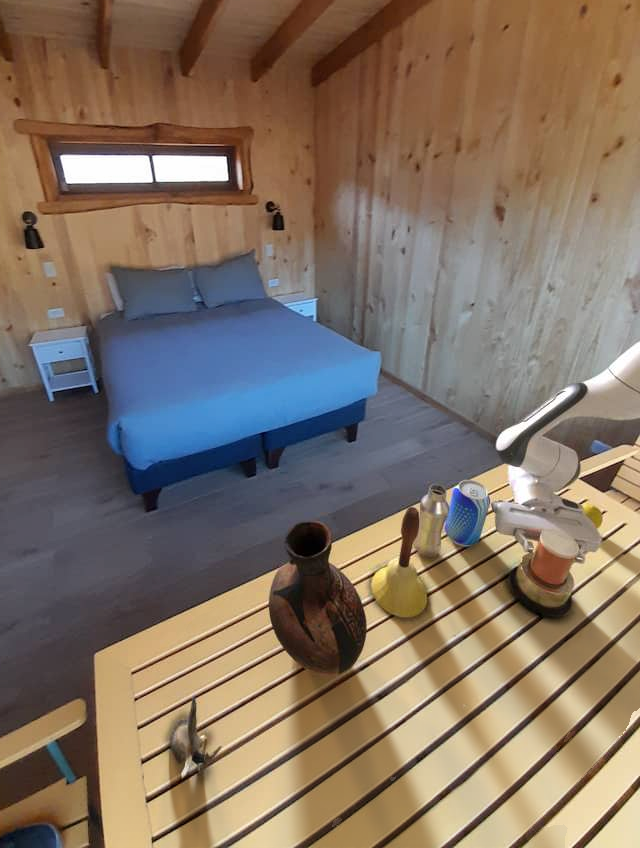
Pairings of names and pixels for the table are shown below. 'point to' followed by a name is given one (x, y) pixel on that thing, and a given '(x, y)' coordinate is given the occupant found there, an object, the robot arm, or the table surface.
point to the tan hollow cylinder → (540, 591)
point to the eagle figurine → (190, 743)
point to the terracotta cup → (554, 556)
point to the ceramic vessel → (316, 604)
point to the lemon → (593, 514)
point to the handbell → (401, 576)
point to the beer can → (467, 513)
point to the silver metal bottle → (431, 521)
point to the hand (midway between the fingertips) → (554, 555)
